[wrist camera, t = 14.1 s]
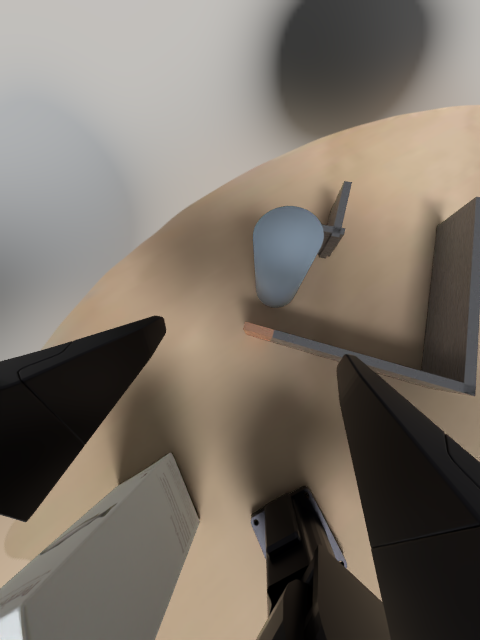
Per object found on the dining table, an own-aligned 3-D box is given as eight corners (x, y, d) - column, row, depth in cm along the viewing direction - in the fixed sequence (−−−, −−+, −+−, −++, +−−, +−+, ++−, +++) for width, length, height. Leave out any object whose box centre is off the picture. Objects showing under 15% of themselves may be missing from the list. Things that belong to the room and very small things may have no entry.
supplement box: (172, 448, 19) (21, 602, 7) (202, 522, 18) (67, 898, 5) (116, 483, 19) (-136, 700, 7) (139, 561, 17) (-145, 1037, 5)
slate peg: (303, 293, 22) (339, 240, 12) (270, 315, 21) (279, 279, 12) (280, 264, 23) (294, 194, 13) (248, 284, 23) (240, 230, 13)
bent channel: (444, 227, 21) (485, 198, 17) (428, 388, 18) (475, 396, 14) (286, 203, 25) (290, 175, 21) (246, 334, 21) (243, 328, 17)
